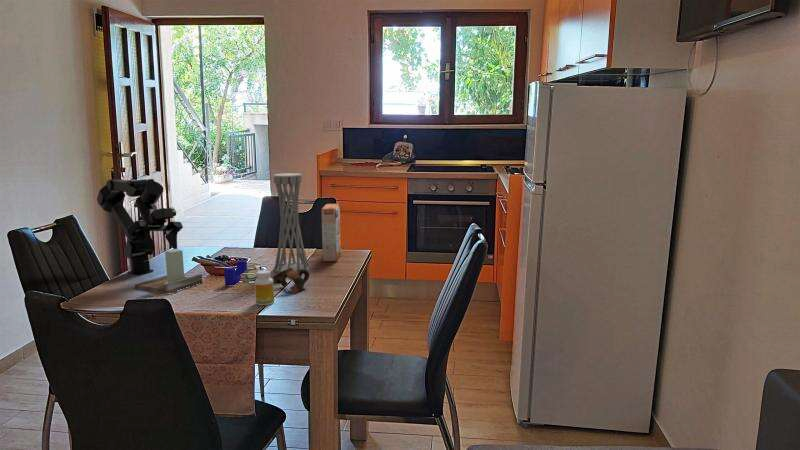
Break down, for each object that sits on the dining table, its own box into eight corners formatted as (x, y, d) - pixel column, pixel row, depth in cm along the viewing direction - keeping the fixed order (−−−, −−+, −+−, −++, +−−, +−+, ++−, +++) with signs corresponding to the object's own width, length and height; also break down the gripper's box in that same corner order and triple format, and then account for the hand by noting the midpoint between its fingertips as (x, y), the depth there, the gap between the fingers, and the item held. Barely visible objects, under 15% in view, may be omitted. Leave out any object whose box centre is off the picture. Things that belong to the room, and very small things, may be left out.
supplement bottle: (275, 304, 176) (273, 273, 175) (256, 306, 175) (255, 274, 173) (272, 299, 182) (271, 268, 180) (254, 301, 180) (253, 270, 178)
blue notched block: (235, 276, 209) (234, 260, 208) (247, 277, 209) (246, 260, 208) (221, 286, 198) (219, 268, 197) (233, 286, 197) (232, 269, 196)
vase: (299, 275, 209) (294, 176, 203) (266, 272, 214) (260, 175, 207) (316, 266, 222) (313, 173, 216) (285, 264, 226) (280, 172, 220)
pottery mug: (286, 297, 185) (274, 274, 186) (277, 303, 193) (266, 280, 194) (318, 281, 192) (306, 259, 192) (309, 287, 200) (297, 266, 200)
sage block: (167, 283, 196) (164, 250, 194) (179, 280, 199) (176, 248, 197) (173, 285, 194) (170, 252, 192) (184, 282, 196) (182, 250, 195)
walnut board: (135, 288, 196) (134, 278, 195) (169, 278, 208) (168, 269, 207) (169, 294, 189) (168, 284, 188) (202, 283, 201) (201, 274, 200)
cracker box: (337, 262, 229) (336, 208, 225) (322, 262, 229) (320, 208, 225) (341, 253, 242) (340, 203, 239) (327, 253, 242) (325, 203, 239)
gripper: (138, 196, 194) (156, 237, 190) (183, 199, 210) (200, 236, 206) (119, 215, 198) (136, 255, 194) (165, 216, 215) (181, 253, 211)
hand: (165, 249), depth 201 cm, fingers open, 9 cm apart
